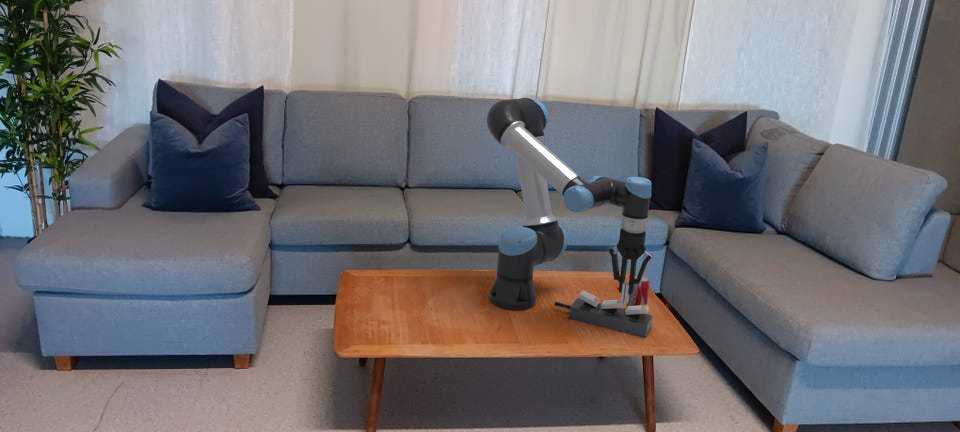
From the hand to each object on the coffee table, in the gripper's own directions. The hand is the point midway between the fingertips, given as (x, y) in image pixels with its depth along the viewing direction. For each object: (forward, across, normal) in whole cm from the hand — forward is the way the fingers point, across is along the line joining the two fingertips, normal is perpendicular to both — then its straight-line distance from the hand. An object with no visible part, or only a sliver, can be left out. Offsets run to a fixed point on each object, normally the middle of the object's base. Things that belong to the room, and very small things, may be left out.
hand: (624, 302), depth 221 cm
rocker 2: (+1, -3, 0) cm, 4 cm away
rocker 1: (+1, -11, 0) cm, 11 cm away
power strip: (+7, -6, -1) cm, 10 cm away
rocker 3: (+1, +4, 0) cm, 4 cm away
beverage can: (+7, +2, +11) cm, 13 cm away
